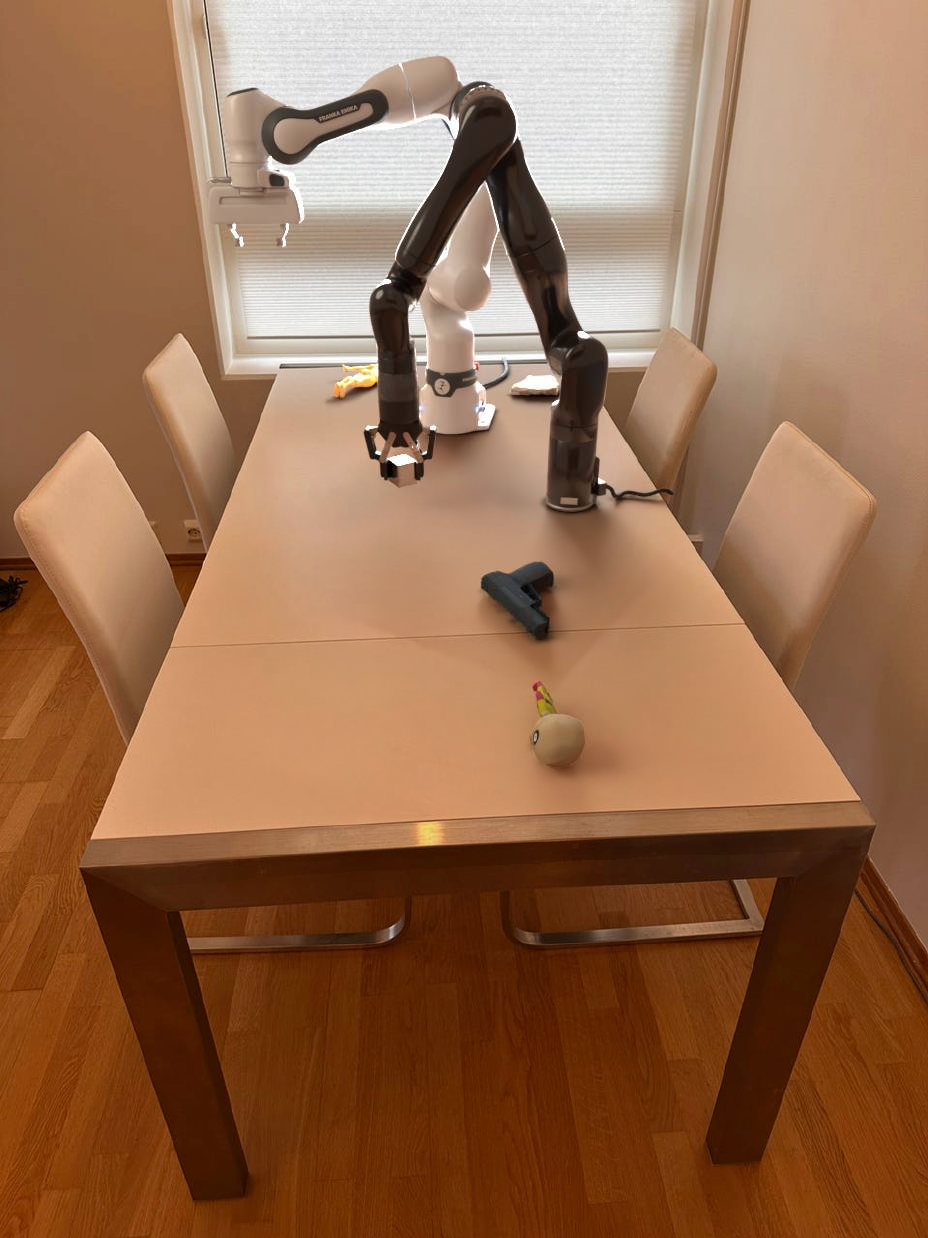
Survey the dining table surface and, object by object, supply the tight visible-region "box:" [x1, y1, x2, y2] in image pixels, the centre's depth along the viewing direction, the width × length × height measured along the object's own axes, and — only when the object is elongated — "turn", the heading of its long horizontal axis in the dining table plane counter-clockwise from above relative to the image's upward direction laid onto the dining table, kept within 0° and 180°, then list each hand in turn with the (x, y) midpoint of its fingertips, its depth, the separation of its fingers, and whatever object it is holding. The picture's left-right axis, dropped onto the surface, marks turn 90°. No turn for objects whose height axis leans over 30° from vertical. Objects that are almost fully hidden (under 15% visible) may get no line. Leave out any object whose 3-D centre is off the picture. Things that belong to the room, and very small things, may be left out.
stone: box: [509, 375, 560, 396], centre depth 238 cm, size 13×12×2 cm
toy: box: [529, 680, 586, 769], centre depth 115 cm, size 6×7×15 cm
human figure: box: [333, 363, 378, 398], centre depth 242 cm, size 20×20×4 cm
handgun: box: [480, 561, 555, 640], centre depth 143 cm, size 3×18×12 cm
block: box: [387, 453, 418, 489], centre depth 172 cm, size 4×4×5 cm
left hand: (260, 245), depth 197 cm, fingers open, 8 cm apart
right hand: (402, 478), depth 173 cm, fingers closed on block, 5 cm apart
